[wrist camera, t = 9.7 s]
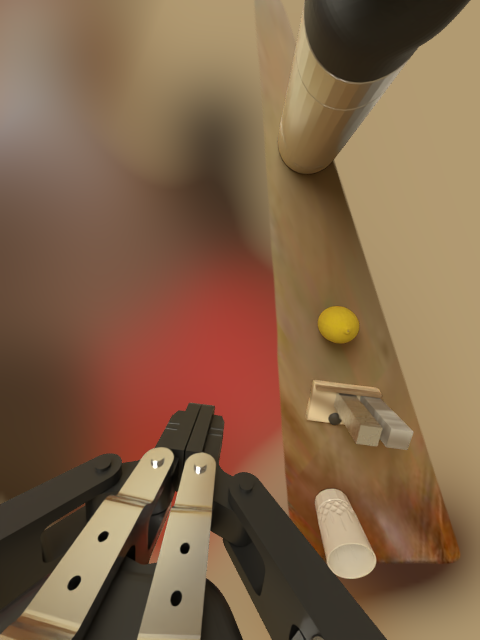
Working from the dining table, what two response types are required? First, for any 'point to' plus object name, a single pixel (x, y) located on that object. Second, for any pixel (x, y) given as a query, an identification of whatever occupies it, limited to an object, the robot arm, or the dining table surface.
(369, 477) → the dining table surface
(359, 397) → the gauge board
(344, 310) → the lemon
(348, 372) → the dining table surface
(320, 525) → the white cup
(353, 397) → the block
